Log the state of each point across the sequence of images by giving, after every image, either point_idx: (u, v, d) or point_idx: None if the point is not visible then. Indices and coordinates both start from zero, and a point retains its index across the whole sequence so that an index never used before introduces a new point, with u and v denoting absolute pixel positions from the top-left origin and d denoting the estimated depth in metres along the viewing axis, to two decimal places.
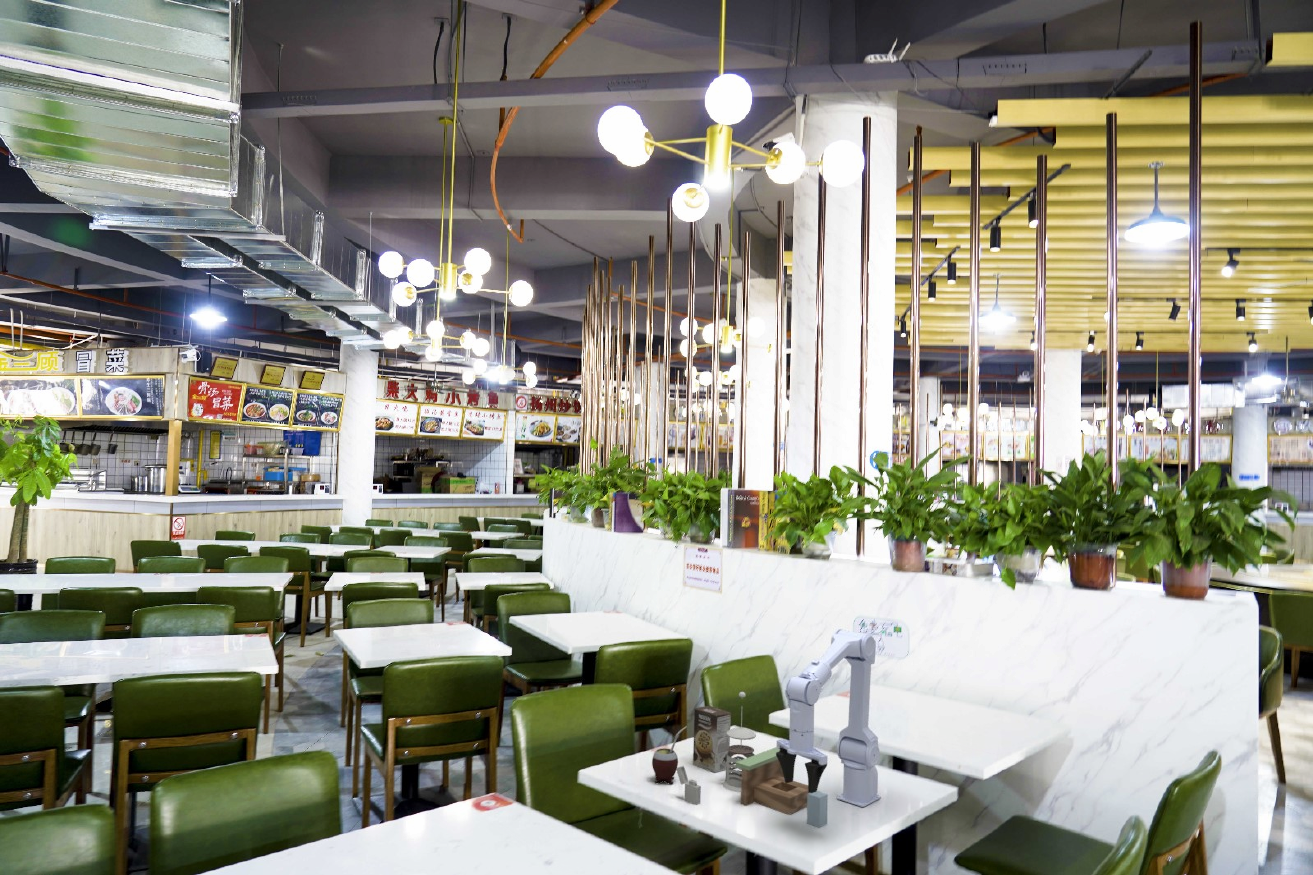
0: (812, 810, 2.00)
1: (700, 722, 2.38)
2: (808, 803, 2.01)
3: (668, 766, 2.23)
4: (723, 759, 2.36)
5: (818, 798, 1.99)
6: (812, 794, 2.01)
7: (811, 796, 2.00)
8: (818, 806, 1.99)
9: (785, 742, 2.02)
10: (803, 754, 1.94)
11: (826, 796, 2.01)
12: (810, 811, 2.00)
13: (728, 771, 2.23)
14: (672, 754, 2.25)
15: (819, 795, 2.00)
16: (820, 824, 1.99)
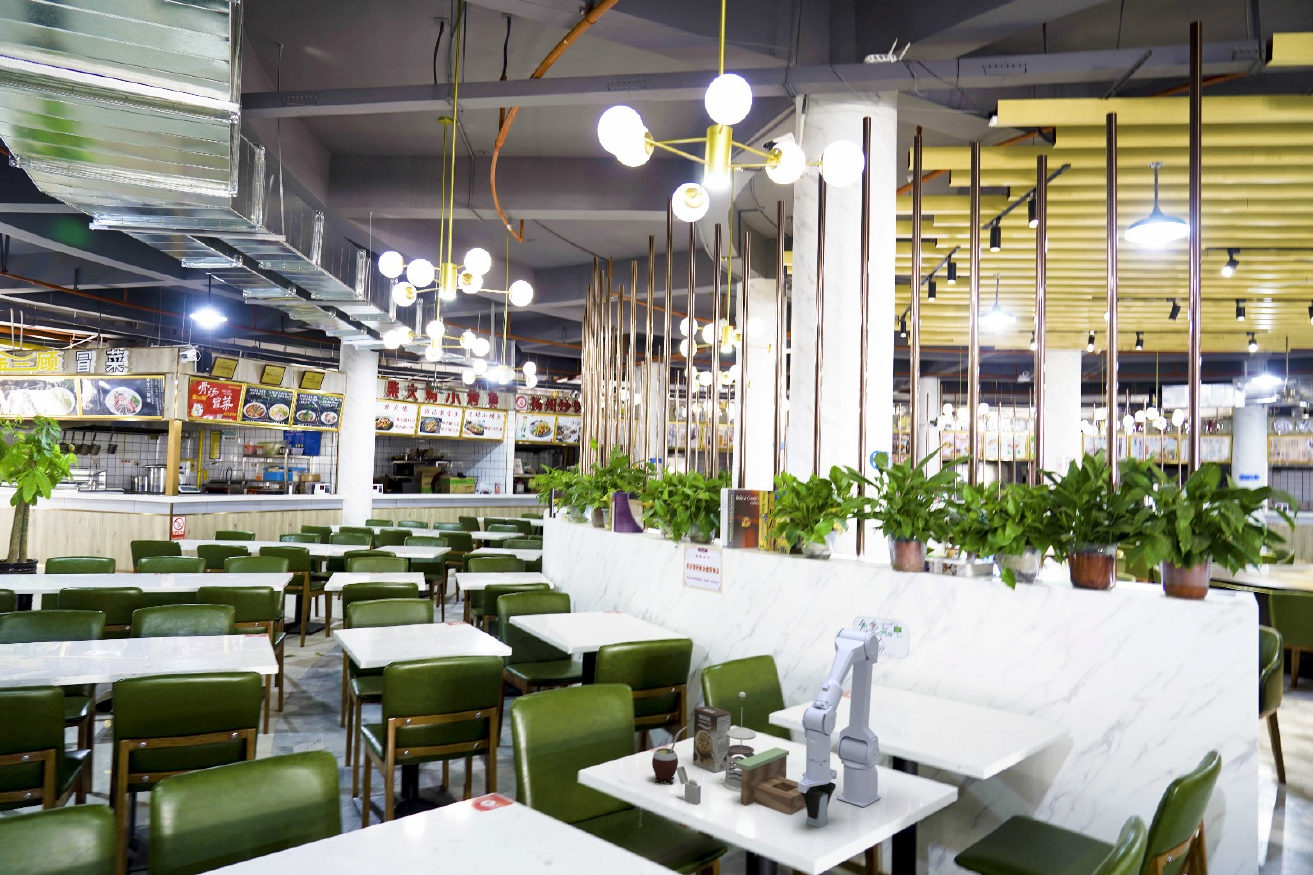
0: None
1: (700, 722, 2.38)
2: None
3: (668, 766, 2.23)
4: (723, 759, 2.36)
5: None
6: None
7: None
8: None
9: None
10: None
11: (826, 796, 2.01)
12: None
13: (728, 771, 2.23)
14: (672, 754, 2.25)
15: None
16: (820, 824, 1.99)
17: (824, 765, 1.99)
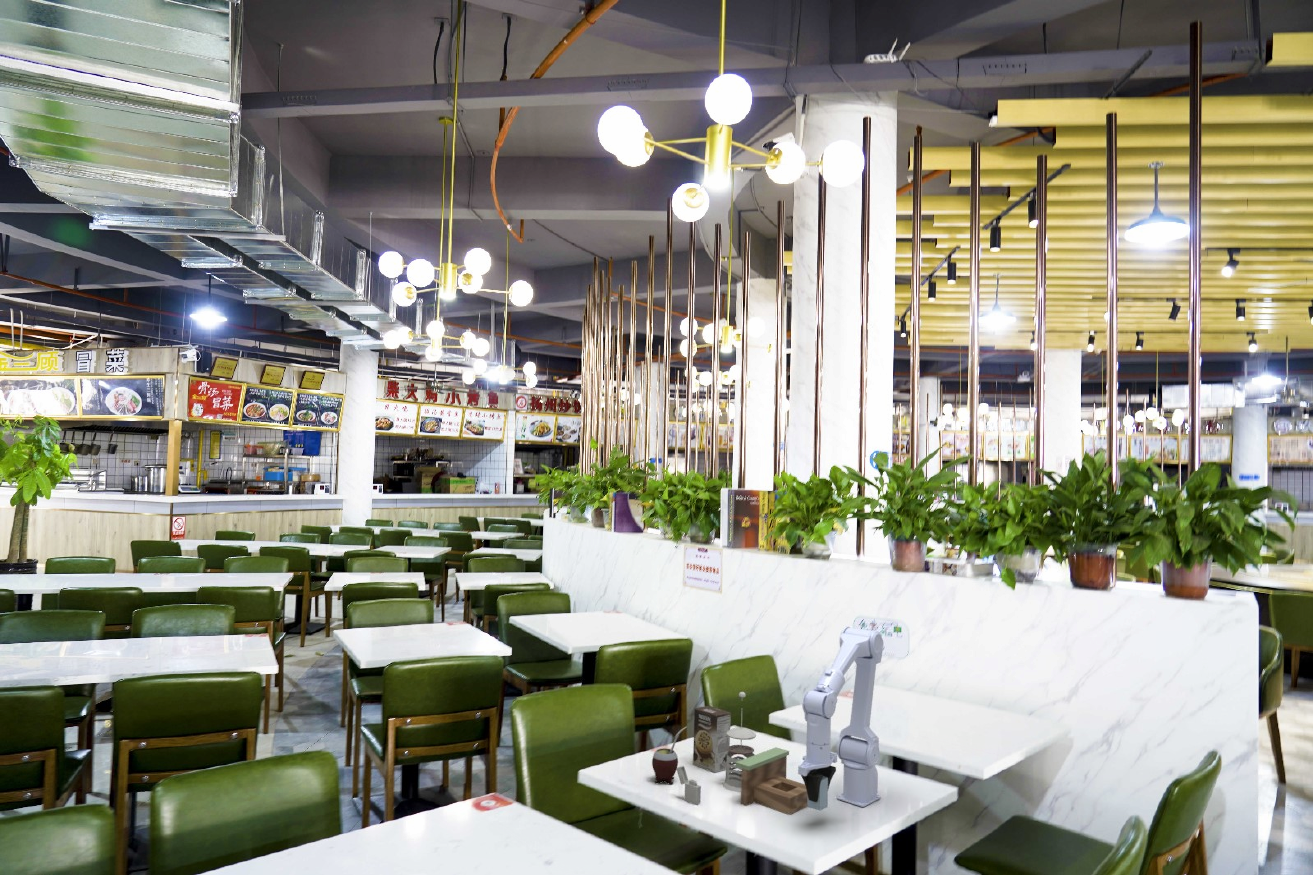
0: None
1: (700, 722, 2.38)
2: None
3: (668, 766, 2.23)
4: (723, 759, 2.36)
5: None
6: None
7: None
8: None
9: None
10: None
11: (826, 779, 2.01)
12: None
13: (728, 771, 2.23)
14: (672, 754, 2.25)
15: None
16: (820, 807, 1.99)
17: (824, 748, 1.99)
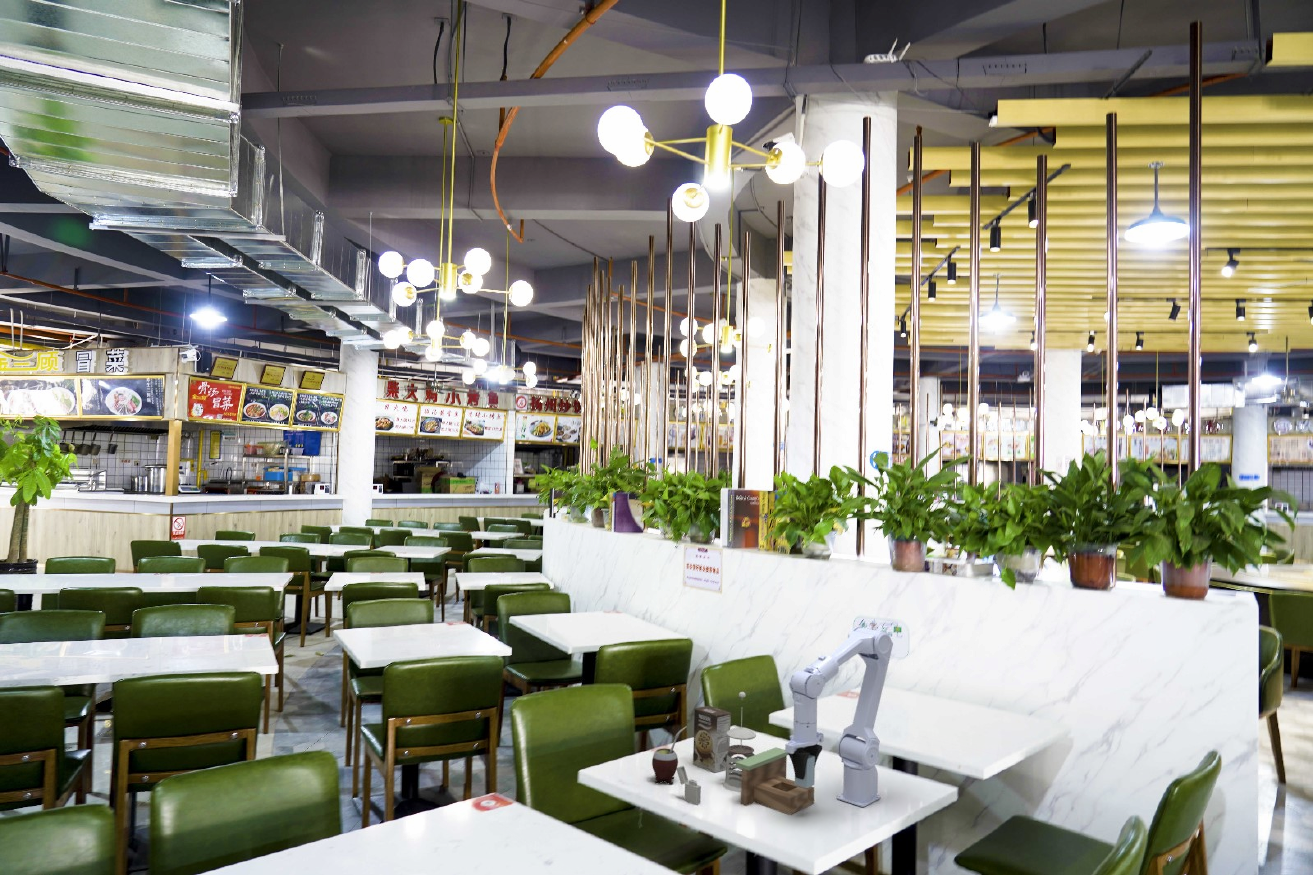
0: None
1: (700, 722, 2.38)
2: None
3: (667, 766, 2.23)
4: (723, 759, 2.36)
5: None
6: None
7: None
8: None
9: None
10: None
11: (813, 758, 2.06)
12: None
13: (728, 771, 2.23)
14: (672, 754, 2.25)
15: None
16: (807, 785, 2.04)
17: (811, 727, 2.04)
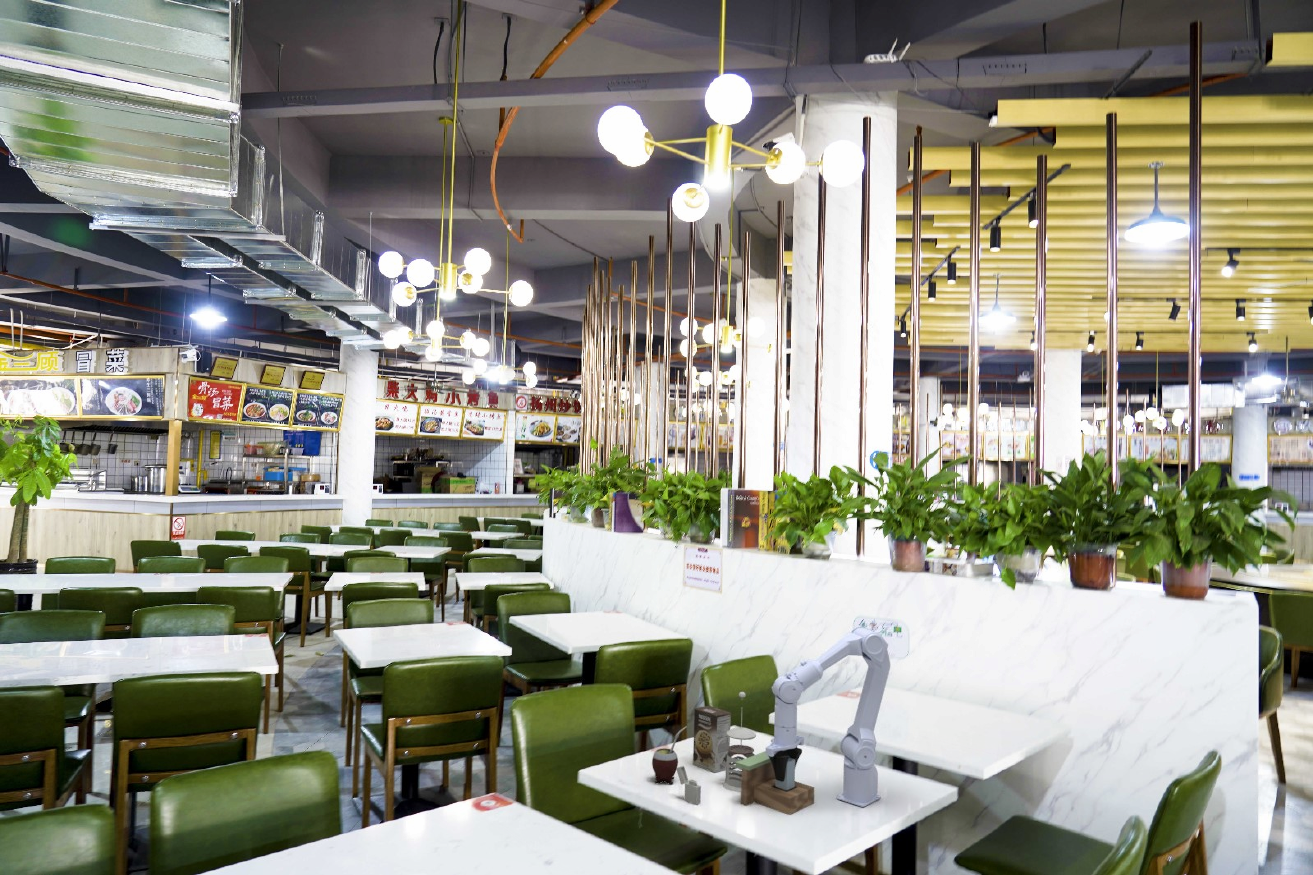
0: None
1: (700, 722, 2.38)
2: None
3: (667, 766, 2.23)
4: (723, 759, 2.36)
5: None
6: None
7: None
8: (786, 770, 2.11)
9: (795, 738, 2.18)
10: None
11: (794, 761, 2.13)
12: None
13: (728, 771, 2.23)
14: (672, 754, 2.25)
15: None
16: (787, 787, 2.11)
17: (791, 731, 2.12)
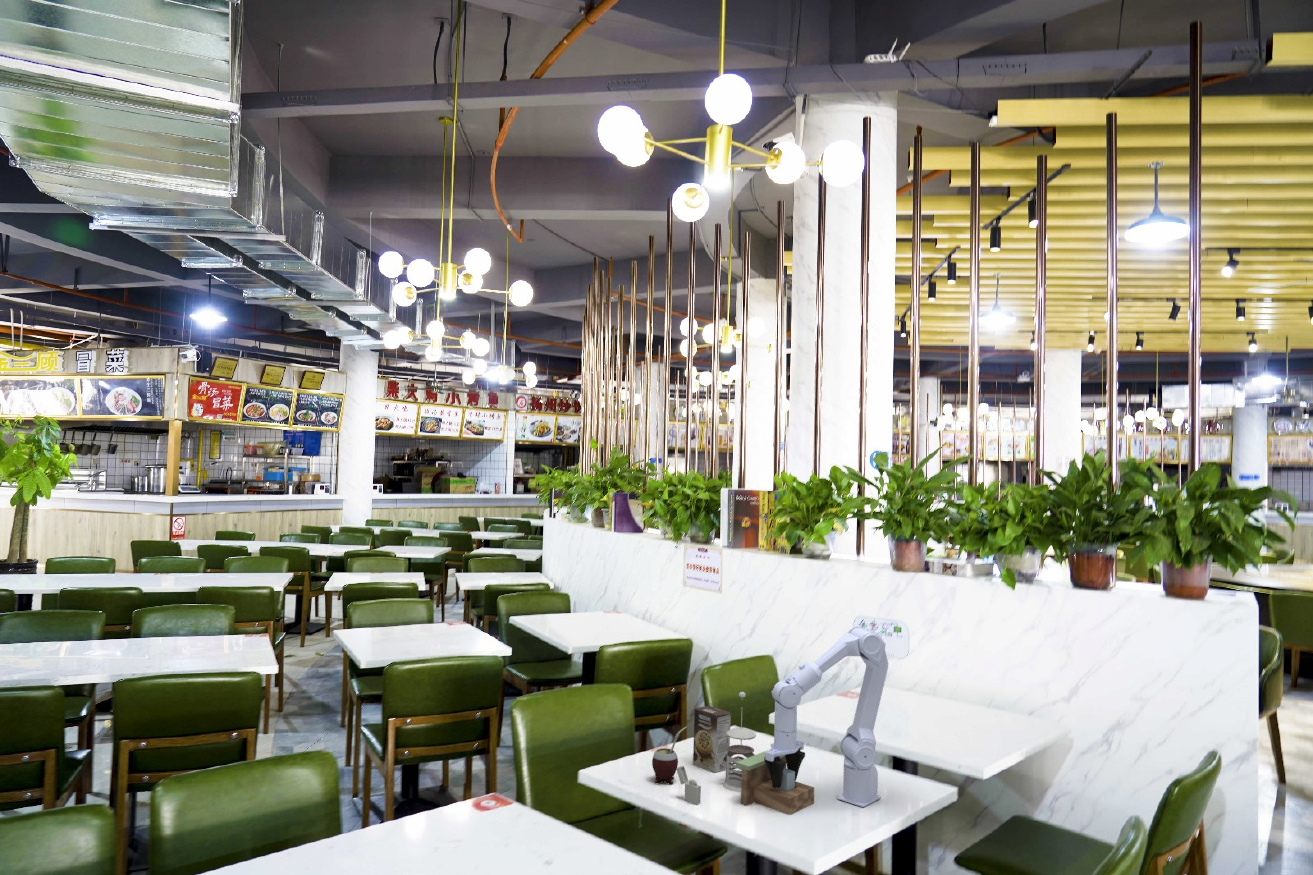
0: None
1: (700, 722, 2.38)
2: None
3: (668, 766, 2.23)
4: (723, 759, 2.36)
5: (785, 775, 2.11)
6: None
7: None
8: (785, 782, 2.11)
9: (795, 742, 2.18)
10: None
11: (793, 773, 2.13)
12: None
13: (728, 771, 2.23)
14: (672, 754, 2.25)
15: (786, 772, 2.13)
16: None
17: (790, 736, 2.12)
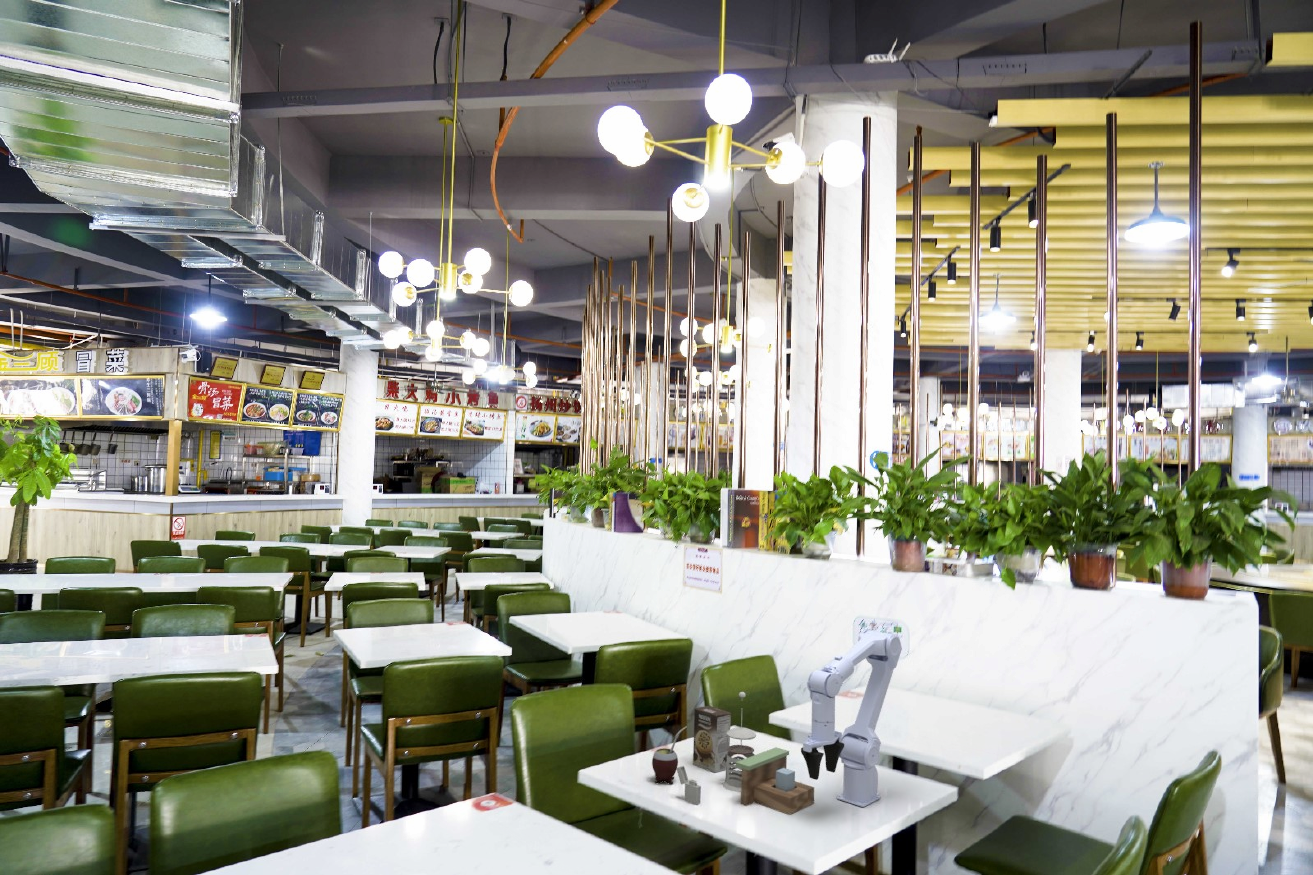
0: (780, 786, 2.12)
1: (700, 722, 2.38)
2: (776, 779, 2.13)
3: (667, 766, 2.23)
4: (723, 759, 2.36)
5: (785, 775, 2.11)
6: (780, 771, 2.13)
7: (779, 772, 2.13)
8: (785, 782, 2.11)
9: None
10: None
11: (793, 773, 2.13)
12: (778, 787, 2.13)
13: (728, 771, 2.23)
14: (672, 754, 2.25)
15: (786, 772, 2.13)
16: None
17: (829, 726, 2.06)
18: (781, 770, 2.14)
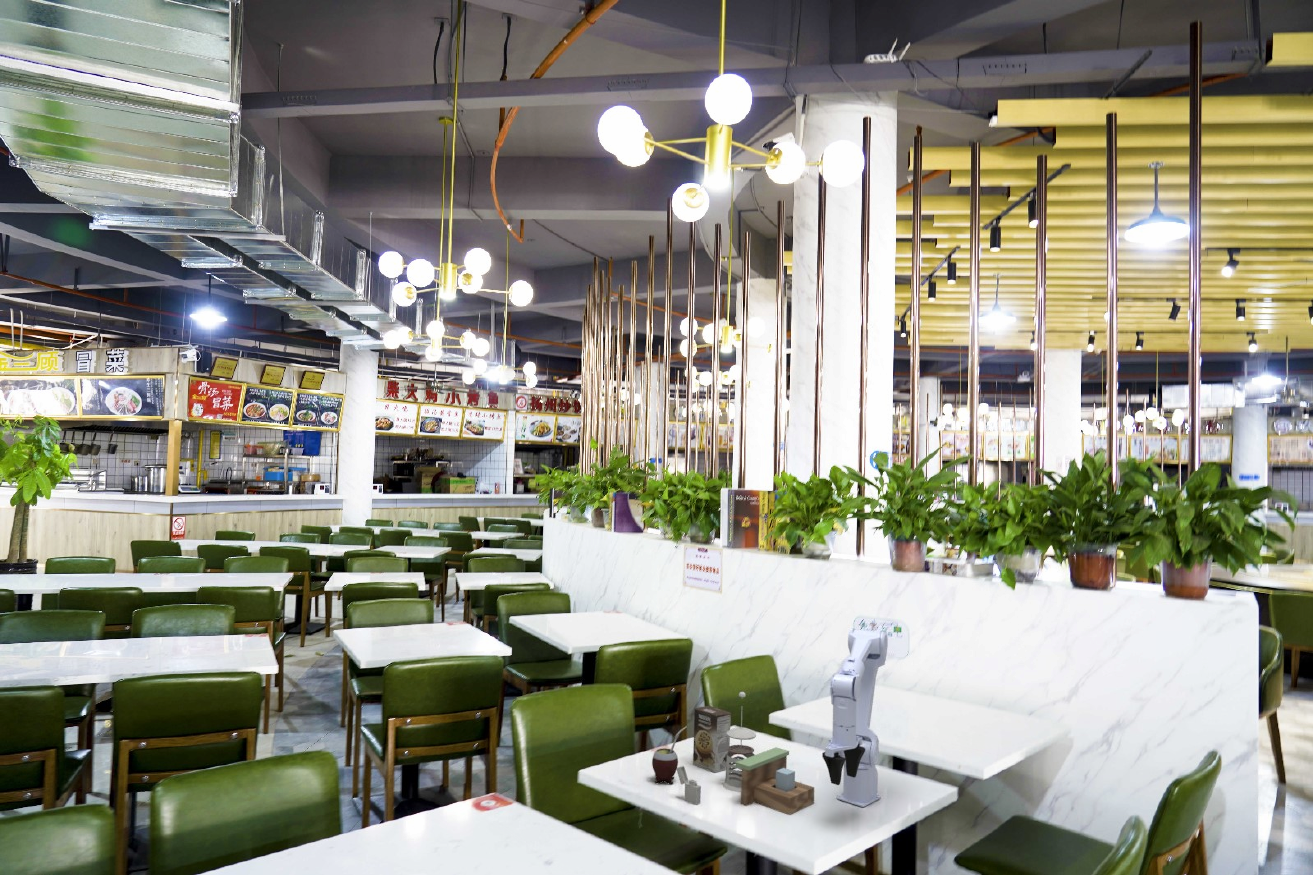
0: (780, 786, 2.12)
1: (700, 722, 2.38)
2: (776, 779, 2.13)
3: (668, 766, 2.23)
4: (723, 759, 2.36)
5: (785, 775, 2.11)
6: (780, 771, 2.13)
7: (779, 772, 2.13)
8: (785, 782, 2.11)
9: None
10: None
11: (793, 773, 2.13)
12: (778, 787, 2.13)
13: (728, 771, 2.23)
14: (672, 754, 2.25)
15: (786, 772, 2.13)
16: None
17: (850, 730, 2.02)
18: (781, 770, 2.14)
